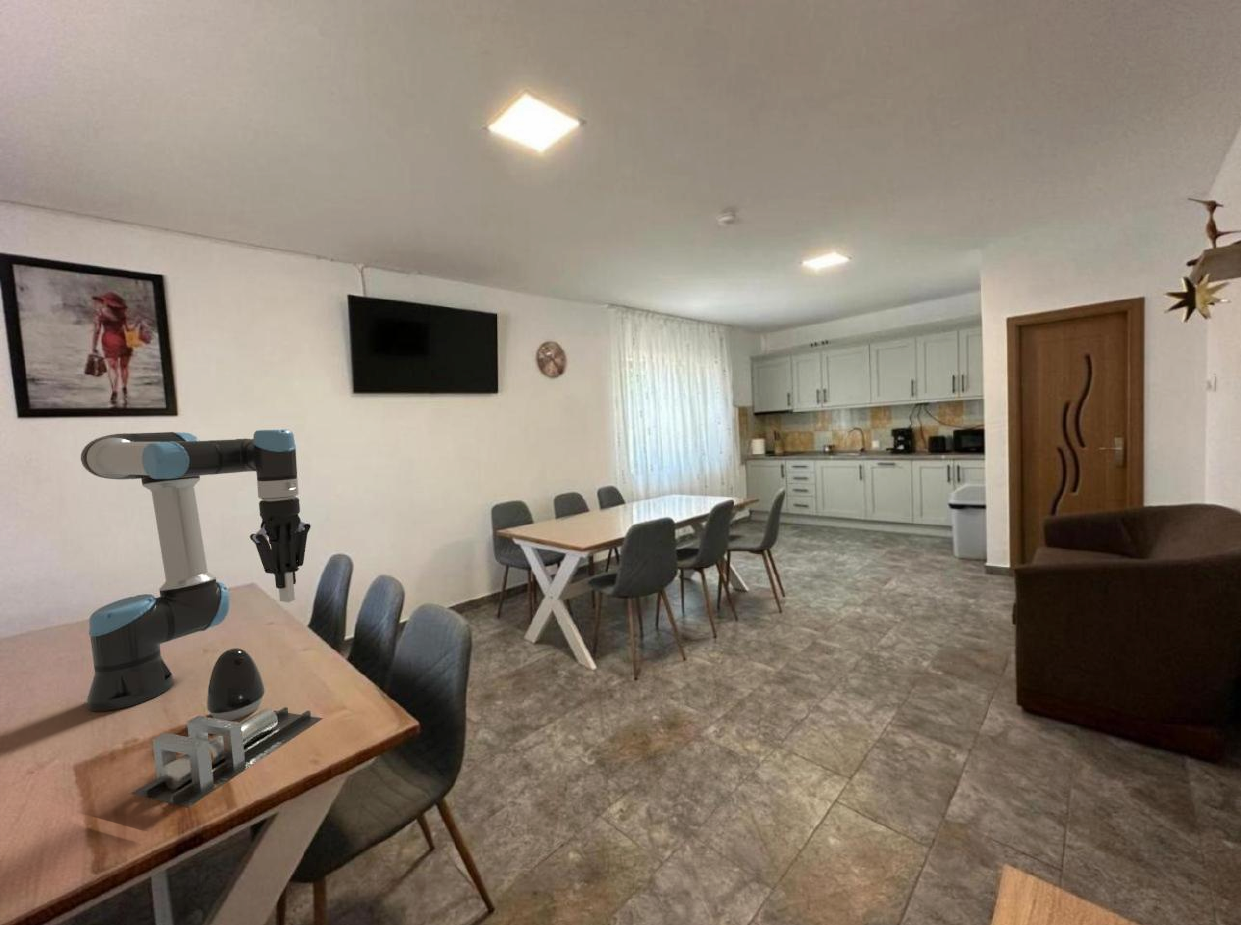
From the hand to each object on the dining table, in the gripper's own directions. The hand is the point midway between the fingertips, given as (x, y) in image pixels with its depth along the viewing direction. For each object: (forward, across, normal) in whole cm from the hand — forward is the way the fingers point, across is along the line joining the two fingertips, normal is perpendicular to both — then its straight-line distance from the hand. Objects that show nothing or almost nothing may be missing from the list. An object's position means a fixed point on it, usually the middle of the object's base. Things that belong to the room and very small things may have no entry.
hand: (287, 600), depth 115 cm
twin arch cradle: (+24, -18, -7) cm, 31 cm away
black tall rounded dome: (+25, -7, +8) cm, 27 cm away
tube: (+23, -20, -8) cm, 31 cm away
